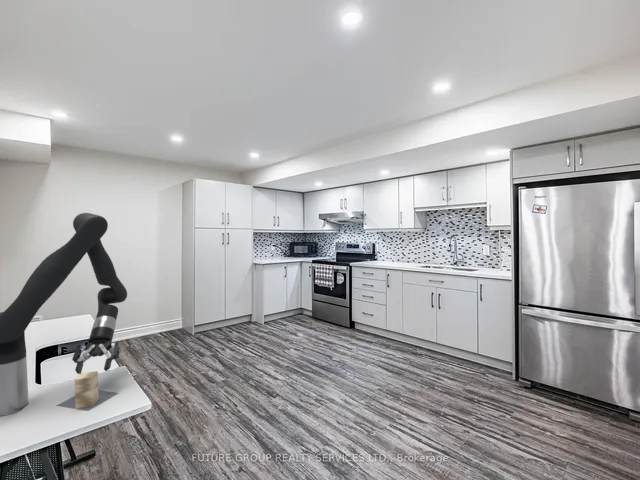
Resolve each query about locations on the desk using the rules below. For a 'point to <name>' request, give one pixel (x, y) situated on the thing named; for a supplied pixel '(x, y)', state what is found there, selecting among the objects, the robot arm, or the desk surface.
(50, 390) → the desk surface
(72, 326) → the desk surface
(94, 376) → the maple block
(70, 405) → the rubber mat
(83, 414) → the desk surface
